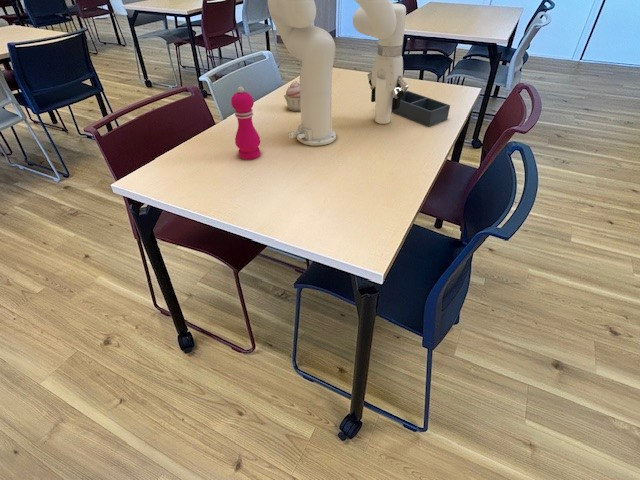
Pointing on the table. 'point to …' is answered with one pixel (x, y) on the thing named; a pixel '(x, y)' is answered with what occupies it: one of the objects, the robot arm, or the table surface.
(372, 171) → the table surface
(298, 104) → the cupcake
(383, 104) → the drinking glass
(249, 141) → the pepper mill
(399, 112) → the glass rack
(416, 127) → the table surface
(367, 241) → the table surface
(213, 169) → the table surface
